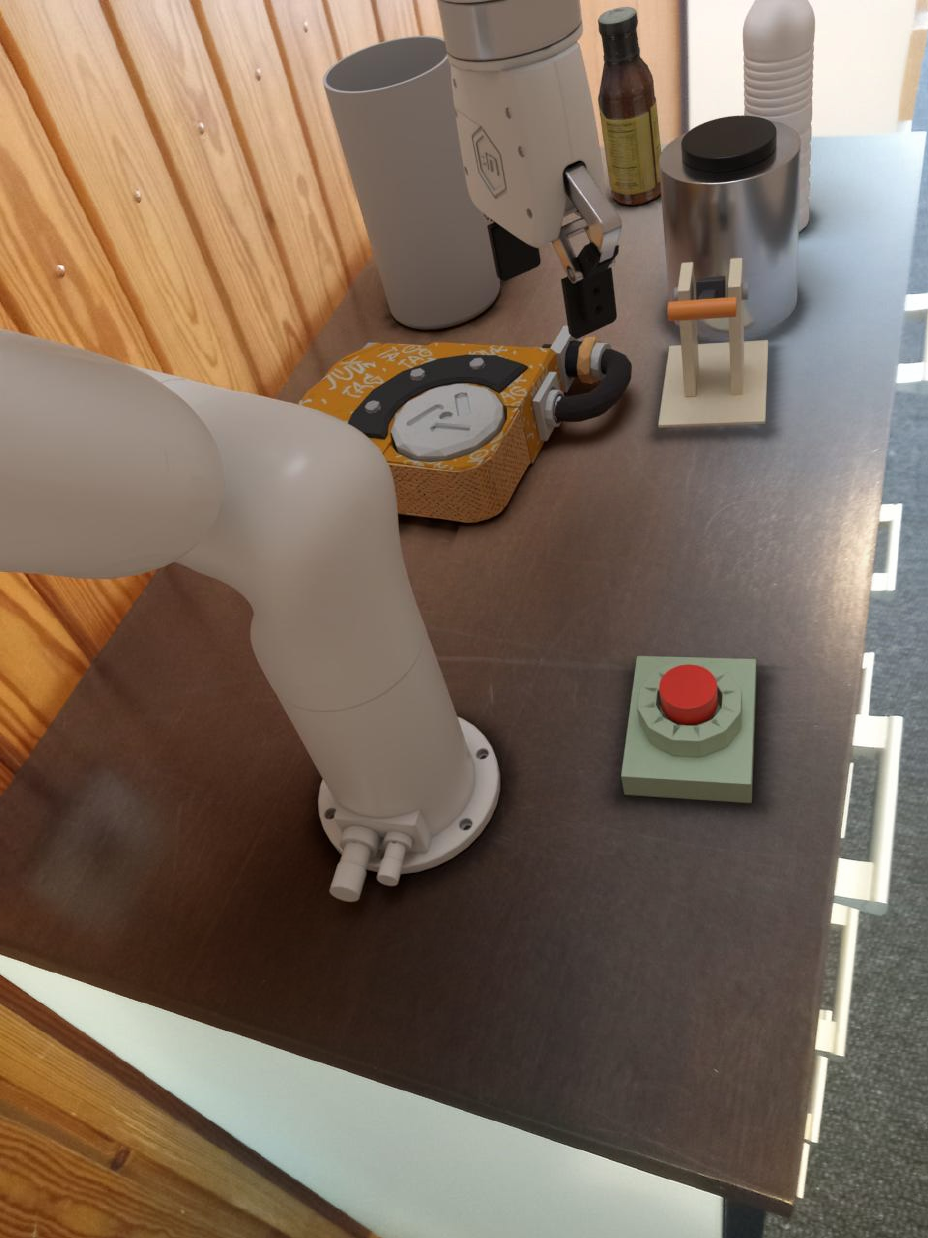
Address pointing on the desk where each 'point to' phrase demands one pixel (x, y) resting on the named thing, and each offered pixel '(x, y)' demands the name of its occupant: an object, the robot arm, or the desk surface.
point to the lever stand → (715, 367)
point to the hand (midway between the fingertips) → (554, 299)
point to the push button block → (692, 736)
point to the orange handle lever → (704, 302)
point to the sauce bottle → (628, 111)
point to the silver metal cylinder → (735, 213)
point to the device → (466, 413)
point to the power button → (688, 694)
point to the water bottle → (782, 74)
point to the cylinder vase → (413, 181)
